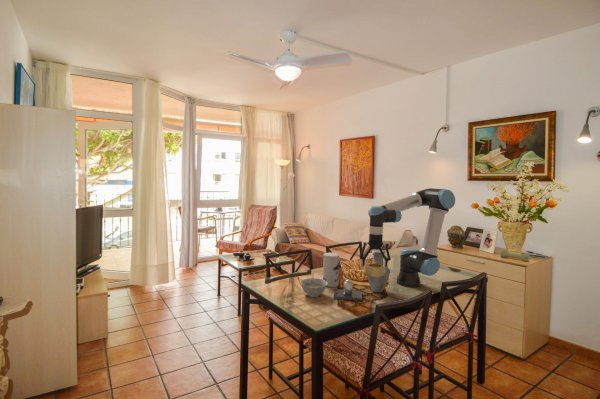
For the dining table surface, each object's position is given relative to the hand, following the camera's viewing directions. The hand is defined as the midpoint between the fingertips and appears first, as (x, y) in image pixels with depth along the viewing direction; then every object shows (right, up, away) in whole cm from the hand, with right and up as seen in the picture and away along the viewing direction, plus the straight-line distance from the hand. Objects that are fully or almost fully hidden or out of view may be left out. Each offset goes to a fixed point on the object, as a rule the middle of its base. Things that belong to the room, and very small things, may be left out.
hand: (374, 271), depth 190 cm
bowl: (-35, -15, +4) cm, 38 cm away
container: (-23, -14, +23) cm, 35 cm away
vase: (+5, -15, +14) cm, 21 cm away
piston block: (-15, -15, +3) cm, 22 cm away
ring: (0, -1, 0) cm, 1 cm away
